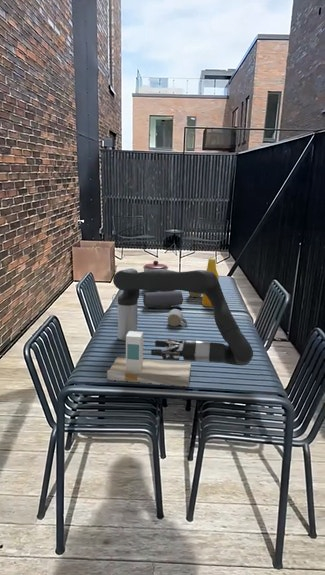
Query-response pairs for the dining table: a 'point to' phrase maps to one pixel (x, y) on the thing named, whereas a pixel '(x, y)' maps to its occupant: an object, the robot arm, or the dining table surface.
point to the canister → (155, 266)
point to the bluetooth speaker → (162, 299)
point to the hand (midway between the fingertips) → (153, 347)
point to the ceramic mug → (176, 318)
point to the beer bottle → (212, 268)
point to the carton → (134, 351)
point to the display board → (152, 372)
